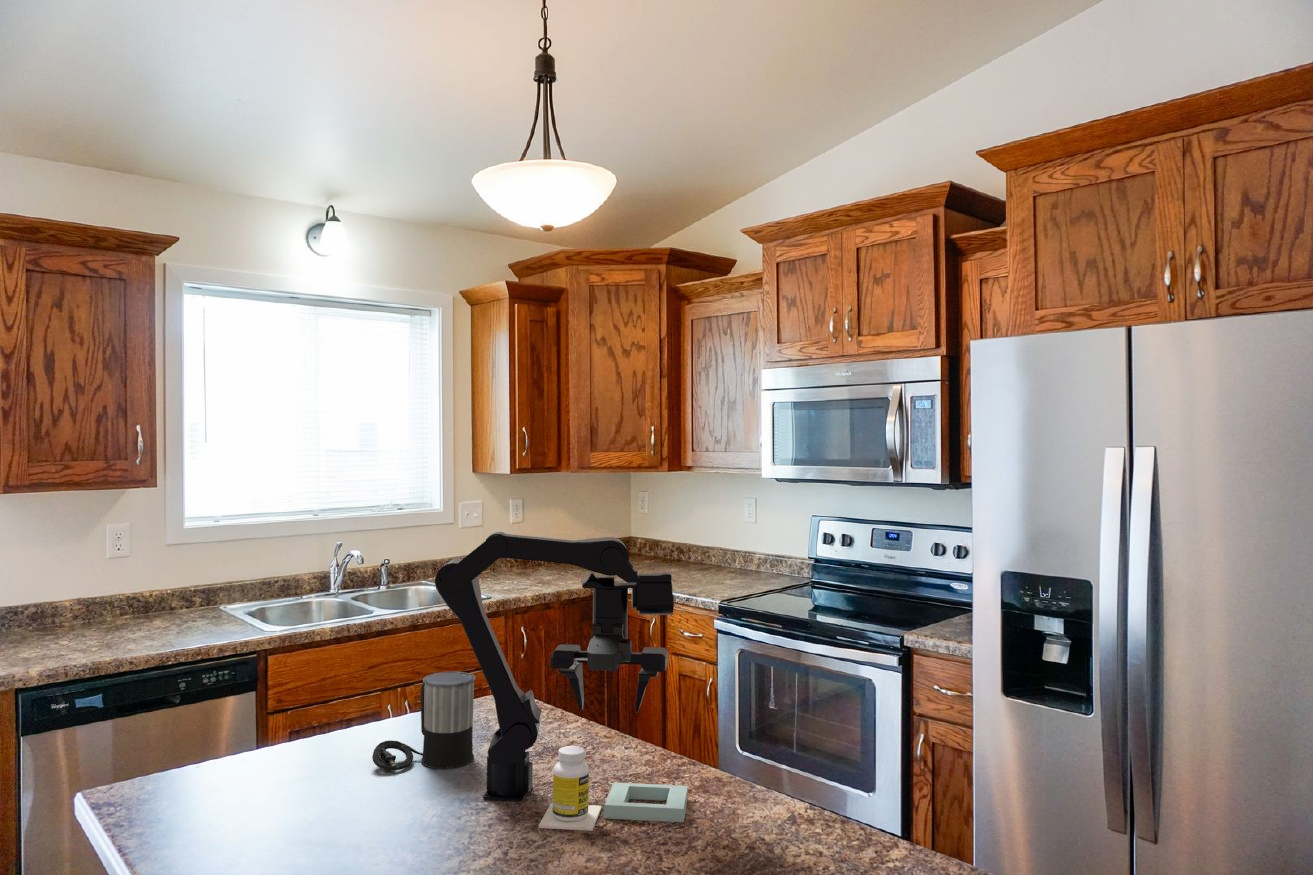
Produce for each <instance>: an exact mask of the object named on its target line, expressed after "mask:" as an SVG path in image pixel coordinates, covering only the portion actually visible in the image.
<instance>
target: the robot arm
mask: <svg viewBox="0 0 1313 875" xmlns="http://www.w3.org/2000/svg"><path fill="white" fill-rule="evenodd" d="M503 558H504V559H511V560H512V559H513V560H520V561H521V560H524V561H533V562H544V563H552V564H553V563H554V564H563V565H572V566H576V567H578V568H580V569H581V568H582V569H585V570H587V571H589V572H590V573H589V575H588V576H587V578H586V579H584V580H582V582H581V587H582V588H583V589H587V590H588V589H592V630H591V631H592V633H591V636H590V639H589V641H588V647H587V649H586V650H582V649H581V645H580V644H564V643H563V644H559V645H558V646H557V647H556V648H555V649H553V651H552V652H551V654H550V659H549V661H550V663H549V664H550V669H555V670H557V669H558V673H559V674H562V675H564V676H565V677H566V678H567V680H568V681H569V683H570V685H571V688H572V690H573V693H574V696H575V699H576V702H577V706H578V709H579V711H583V710H584V705H585V704H584V703H585V694H584V691H585V690H584V675H583V674H584V673H583V672H584V670H583V663H584V664H587V669H588V670H590V671H591V672H596V671H607V672H610V673H612V672H616V671H618V670H619V668H620V665H635V666H636V665H640V668H641V669H640V670H639V672H638V682H637V689H636V690H637V691H636V696H635V714H636V713H639V711H640V708H641V705H642V702H643V700H644V699H643V698H644V695H645V692H646V689H647V686H648V685H649V682H650V680H651V678H656V677H658V676H659V673H664V672H666V671H667V667H668V664H669V652H668V650H667V649H666V648H665V647H655V646H654V647H652V646H651V647H650V646H645V647H643V649H642V651H641V652H633V644H632V639H631V638H628V621H629V619H628V616H629V615H628V614H629V611H628V610H629V609H628V608H629V593H628V592H629V589H631V609H632V610H636V612H637V613H638V616H657V615H659V616H661V615H662V616H667V615H668V616H669V615H673V614H674V606H675V602H674V601H675V596H674V594H673V583H672V580H673V579H672V574H671V573H670V572H661V573H639V574H638V570H637V567H634V566H633V565H632V563H631V562H630V561H629V560H630V554H629V551H628V549H627V547H626V544H624V542H623V541H622V540H621V539H619V538H617V537H614V536H607V537H593V538H583V539H576V540H575V539H574V540H570V539H563V538H561V539H560V538H551V537H543V536H542V537H541V536H531V535H523V534H510V533H505V532H503V531H495V532H493V533H491V534H490V535H489V536H488V537H487V538H486V539H485V541H483V542H482V543H481V544H479V546H477V547H476V548H474V549H473V550H472V551H471V552H470V553H468V554H467V555H466V556H465V557H463V558H455V559H451V560H450V561H448V562H447V563H445V564H444V565H443V566H442V567H440V569H439V570H437V573H436V576H435V578H434V587H435V588H436V590H437V593H438V594H439V595H440V597H441V599H442V600H443V602H444V603H445V604H446V606H447V607H448V608H449V609H450V611H451V612H452V613H453V614H454V615H455V617H457V619H458V620H459V621H460V623H461V626H462V628H463V631H464V633H465V635H466V638H467V639H468V642H469V644H470V646H471V649H472V651H473V653H474V656H475V657H476V661H477V663H478V664H479V667H480V670H481V672H482V674H483V676H484V678H485V681H486V682H487V683H486V684H487V685H488V687H489V690H490V692H491V695H492V697H493V699H494V704H495V706H494V707H495V711H496V717H497V718H496V719H497V724H498V727H499V728H498V729H496V731H495V732H494V733H493V735H492V738H491V741H490V744H489V745H488V750H487V756H486V791H485V792H484V793H483V795H482V799H483V800H491V801H492V800H493V801H494V800H495V801H513V802H514V801H515V802H516V801H517V802H522V801H524V799H525V798H526V796H527V795H528V793H529V792H530V791H531V789H532V788H533V772H534V771H533V766H534V764H533V761H530V751H528V750H529V749H530V748H532V747H533V746H534V745H535V743H536V741H537V739H538V735H539V731H540V730H539V729H540V723H541V716H542V714H541V713H542V709H541V708H540V707H539V706H538V704H537V702H536V700H535V694H534V692H533V690H532V689H529V690H528V691H527V692H524V691H523V690H522V688H520V687H519V685H518V684H517V682H516V680H515V678H514V676H513V673H512V671H511V668H510V666H509V664H508V662H507V660H506V656H505V655H504V652H503V649H502V648H501V645H500V643H499V641H498V638H497V637H496V634H495V632H494V629H493V627H492V625H491V622H490V621H489V618H488V615H487V613H486V611H485V609H484V605H483V598H482V593H481V592H482V590H481V587H480V582H479V578H478V576H479V575H481V574H482V573H483V572H484V571H486V570H487V569H488V568H490V566H491V565H493V564H494V563H495V562H497V561H498V560H499V559H503ZM595 573H597V574H601V575H604V576H597V575H596V574H595ZM614 576H617V577H618V578H619V579H621V580H622V581H623V582H621V581H615V577H614ZM624 581H625V582H624ZM526 750H527V751H526Z"/></svg>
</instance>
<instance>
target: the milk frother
mask: <svg viewBox="0 0 1313 875" xmlns="http://www.w3.org/2000/svg"><path fill="white" fill-rule="evenodd" d="M476 679H477V678H476V676H475V675H474V674H473V673H469V672H466V671H465V672H463V671H442V672H436V673H432V674H428V675H426V676H425V677H423V679H422V684H421V688H420V725H421V728H420V730H421V731H420V732H421V734H422V736H423V743H422V744H423V746H422V747H423V748H422V752H420V751H417V750H416V749H414V748H413V747H411V746H410V745H408V744H405V743H403V742H401V741H398V740H385V741H384V740H383V741H382V742H380V743H379V744H377V745H376V746H375V748H374V749H373V752H372V755H371V757H372V761H373V763H374V764H375V765H376V767H377V768H379V769H381V770H386V771H393V772H394V771H401V770H404V769H407V768H408V767H410V766H411V765H412V763H413V760H414V754H416V755H419V756H422V758H421V759H420V763H421V764H423V765H424V766H426V767H428V768H432V769H438V770H439V769H441V770H442V769H443V770H444V769H446V770H447V769H454V768H459V767H464V766H466V765H468V764H470V763H472V762H473V761H474V759H475V758H474V757H475V755H474V754H473V753H474V749H473V747H474V746H473V743H474V742H473V733H474V732H473V731H474V730H473V729H474V728H473V727H474V726H473V725H474V724H473V722H474V694H475V680H476ZM388 749H394V750H398V751H399V752H402V753H403V754H404V755H405V759H404V760H403V761H402V762H398V763H395V762H396V760H397V756H396V755H395V754H392V753H391V752H390V751H388Z"/></svg>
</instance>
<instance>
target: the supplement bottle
mask: <svg viewBox="0 0 1313 875" xmlns="http://www.w3.org/2000/svg"><path fill="white" fill-rule="evenodd" d="M585 759H586V749H585V748H584V747H583V746H578V745H568V746H563V747H559V749H558V761H559V762H557V763H556V764H555V765H554V767H553V778H552V803H553V806H552V807H553V808H552V813H553V816H554V817H555V818H556V819H558V820H561V821H578V820H582V819H583V818H585V817H586V816H587V814H588V805H589V798H590V797H589V795H590V794H589V790H590V789H589V788H590V768H589V767H590V766H589V765H588V764H587V763H586V762H585Z"/></svg>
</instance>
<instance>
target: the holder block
mask: <svg viewBox="0 0 1313 875" xmlns="http://www.w3.org/2000/svg"><path fill="white" fill-rule="evenodd" d="M688 790H689V789H688V785H679V784H678V785H677V784H676V785H675V784H674V785H673V784H657V783H655V784H653V783H637V782H636V783H633V782H616V781H615V782H612V785H611V788H610V789H609V793H608V795H607V798H606V799H605V802H604V804H603V805H604V806H603V808H604V809H603V810H604V813H603V814H604V817H603V818H604V819H611V820H613V819H614V820H631V821H632V820H634V821H648V822H649V821H650V822H651V821H652V822H667V823H668V822H670V823H684V822H685V816H686V810H687V804H688V792H689V791H688ZM630 800H645V801H646V800H647V801H664V800H666V803H665V804H663V803H662V804H661V803H658V804H657V803H643V802H642V803H641V802H639V803H638V802H629V801H630Z"/></svg>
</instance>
